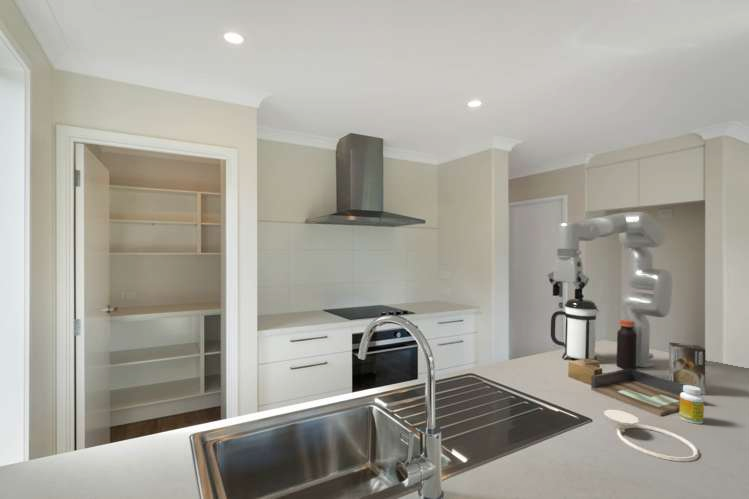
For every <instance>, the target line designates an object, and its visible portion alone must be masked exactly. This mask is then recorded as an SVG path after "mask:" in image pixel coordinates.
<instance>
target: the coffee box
mask: <svg viewBox="0 0 749 499" xmlns="http://www.w3.org/2000/svg"><path fill="white" fill-rule="evenodd" d="M668 344H669V347H668V348H669V349H668V350H669V351H668V352H669V354H668V357H669V358H668V360H669V361H668V380H671V381H674V382H677V383H681V384H684V385H691V386H695V387H698V388H700V389H701V394H700V395H703V396H705V395H706V349H705V348H704V347H702V346H701V345H697V344H687V343H678V342H669V343H668Z"/></svg>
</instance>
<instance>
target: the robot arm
mask: <svg viewBox="0 0 749 499" xmlns="http://www.w3.org/2000/svg"><path fill="white" fill-rule="evenodd" d="M615 235H618V241H619V242H620V244H621V245H622V246H623V247H624V249H625V250H626V252H627V255H628V259H629V260H628V272H627V284H628V286H629V287H630V288H632V289H635V290H642V291H643V290H645V291H650V292H651V291H653V293H648V292H642V291H641V292H640V291H628V292H626V293H624V294H623V295H622V296H621V300H620V302H621V304H620V305H621V308H622V315H623V320H630V321H634V328H633V330H634V331H635V332H636V334H637V339H636V368H647V369H648V368H649V369H650V368H653V367H654V362H652V361H650V359H652V358H654V354H653V353H652V352H651V353H650V341H651V340H650V336H651V334H650V333H651V326H650V322H649V319H648V318H647V316H648V317H655V318H666V316H668V315H669V314H670V310H671V306H672V305H671V303H672V296H673V278H672V275H671V273H670V272H669V271H668V270H666V269H663V268H653V267H654V266H653V260H654V257H653V255H652V252H651V251H650V250H649V248H659V247H661V246H663V245H664V244H665V242H666V237H667V236H666V234H665V231H664V229H663V228H662V226H660V224H659V223H658V222H657V221H656V220H655V219H654V218H653V217H652V216H651V215H650V214H648V213H646V212H643V211H633V212H631V211H629V212H620V213H615V214H610V215H605V216H604V215H603V216H600V217H598V216H597V217H593V218H589V219H582V220H576V221H563V222H559V223H558V225H557V245H556V246H557V247H556V248H557V250H556V257H555V260H554V264H553V271H552V272H550V273H548V274H547V277H548V280H549V282H550V285H551V287H552V296H554V297H559V296H560V293H561V287H560V284H561V283H567V284H573V285H574V287H575V288H574V299H583V298H582V294H583V289H584V288H585V287H586V286H587V285H588V282H589V280H590V277H588V275H585V274H584V267H583V262H582V258H581V257H579V256H580V255H582V251H581V250H580V242H590V241H594V240H596V239H597V238H607V237H608V238H609V237H611V236H615Z"/></svg>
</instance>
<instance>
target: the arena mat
mask: <svg viewBox="0 0 749 499" xmlns="http://www.w3.org/2000/svg"><path fill="white" fill-rule="evenodd" d="M590 387H591V386H590ZM590 390H591V391H594V392H597V393H599V394H601V395H605V396H606V397H609V398H611V399H614V400H616V401H620V402H623V403H625V404H628V405H630V406H633V407H636V408H638V409H640V410H643V411H645V412H649V413H650V414H652V415H653V414H654V415H656V416H659V417H662V416H666V415H668V414H672V413H675V412H679V411H680V396H678V395H675V394H672V393H669V392H666V391H662V390H659V389H656V388H653V387H650V386H647V385H644V384H641V383H638V382H635V381H632V380H630V381H625V382H621V383H616V384H611V385H606V386H602V387H597V388H593V387H591V388H590Z"/></svg>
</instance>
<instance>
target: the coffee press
mask: <svg viewBox="0 0 749 499" xmlns="http://www.w3.org/2000/svg"><path fill="white" fill-rule="evenodd" d="M584 298H585V297H584V294H583V293H582V299H575V298H570V299H568V300H566V301H565V303H564V308H565V311H563V310H559V311H555V312H554V313H552V315H551V319H550V337H551V340H552V342H553V343H554V344H555V345H558V346H561V347H563V348H564V353H563V354H562V356H561V359H563V360H565V361H567V360H568V359H569V358H571V359H574V360H582V359H588V358H590V359H593V360H596V361H598V360H597V357H596V354H595V353H596V326H597V325H596V322H597V321H596V320H597V315H600V314H601V312H600V310H599V309H598V306H597V305H596V303H595V302H594V301H592V300H589V299H584ZM558 316H564V319H565V321H564V342H563V341H560V340H558V339H557V338H556V319H557V317H558Z"/></svg>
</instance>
